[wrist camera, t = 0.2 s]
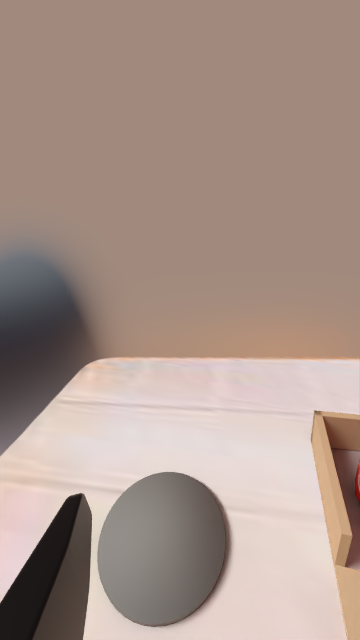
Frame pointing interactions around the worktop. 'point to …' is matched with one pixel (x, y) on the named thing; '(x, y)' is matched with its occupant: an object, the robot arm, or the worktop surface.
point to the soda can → (357, 483)
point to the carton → (338, 506)
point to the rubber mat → (161, 549)
